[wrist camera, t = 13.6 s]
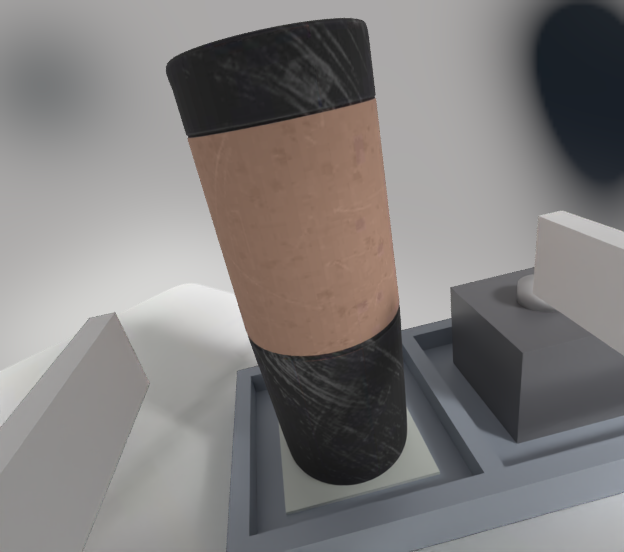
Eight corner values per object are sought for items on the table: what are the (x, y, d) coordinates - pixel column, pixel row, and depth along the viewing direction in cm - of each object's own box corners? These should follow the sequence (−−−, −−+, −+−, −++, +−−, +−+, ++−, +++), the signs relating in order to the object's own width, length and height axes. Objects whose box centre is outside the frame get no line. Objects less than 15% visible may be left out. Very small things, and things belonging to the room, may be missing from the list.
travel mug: (436, 414, 22) (411, 15, 14) (362, 523, 17) (253, 16, 9) (336, 371, 27) (272, 60, 19) (258, 446, 23) (125, 77, 14)
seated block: (547, 338, 26) (556, 247, 23) (640, 411, 20) (668, 298, 17) (453, 362, 26) (450, 273, 23) (517, 443, 20) (524, 335, 17)
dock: (555, 319, 30) (558, 291, 29) (752, 456, 18) (770, 418, 17) (246, 396, 28) (237, 370, 27) (241, 598, 17) (225, 567, 16)
